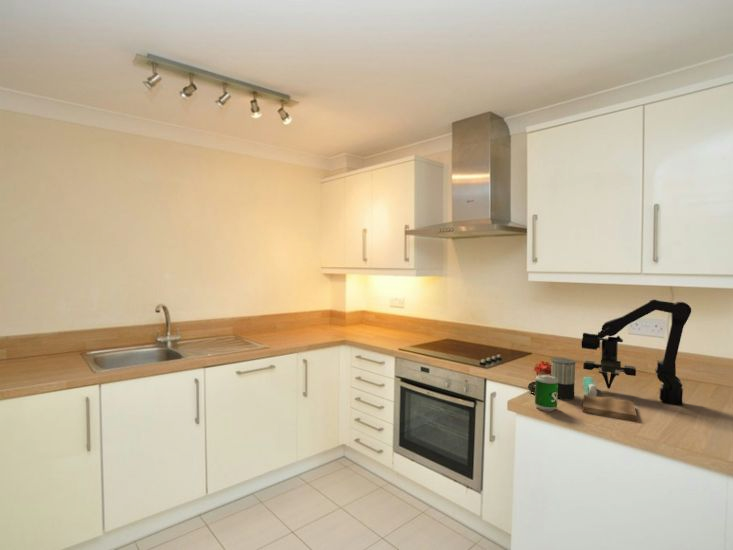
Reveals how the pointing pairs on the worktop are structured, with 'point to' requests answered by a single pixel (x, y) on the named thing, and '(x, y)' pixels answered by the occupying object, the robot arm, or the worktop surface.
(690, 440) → the worktop surface
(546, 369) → the dragon fruit
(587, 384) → the folding leg
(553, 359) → the milk frother
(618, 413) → the flat wooden board
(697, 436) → the worktop surface
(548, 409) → the soda can
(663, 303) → the robot arm
